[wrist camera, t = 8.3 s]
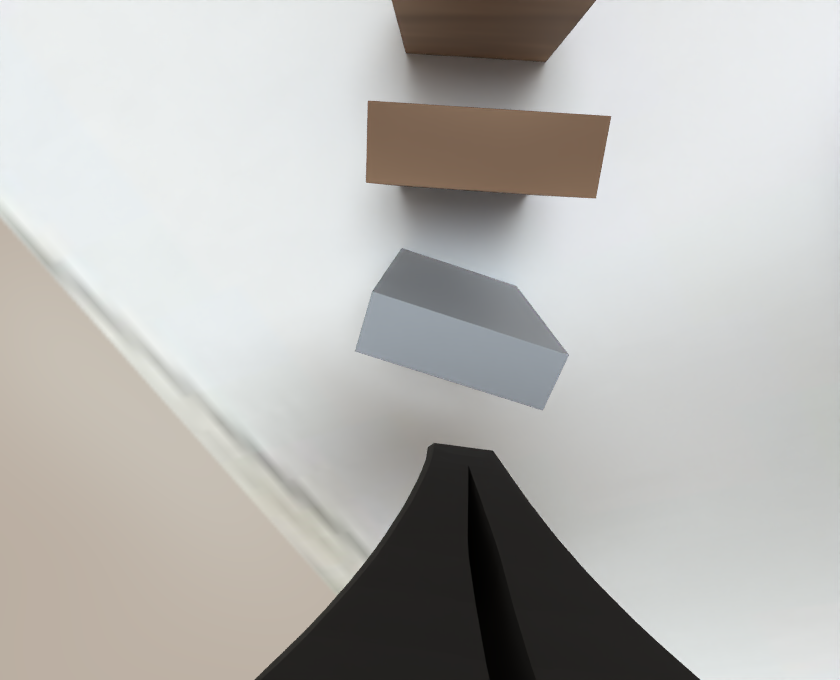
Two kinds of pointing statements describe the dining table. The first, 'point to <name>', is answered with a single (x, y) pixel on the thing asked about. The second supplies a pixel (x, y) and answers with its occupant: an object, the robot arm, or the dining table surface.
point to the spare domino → (461, 330)
